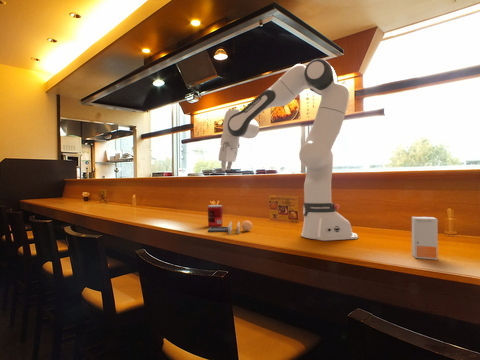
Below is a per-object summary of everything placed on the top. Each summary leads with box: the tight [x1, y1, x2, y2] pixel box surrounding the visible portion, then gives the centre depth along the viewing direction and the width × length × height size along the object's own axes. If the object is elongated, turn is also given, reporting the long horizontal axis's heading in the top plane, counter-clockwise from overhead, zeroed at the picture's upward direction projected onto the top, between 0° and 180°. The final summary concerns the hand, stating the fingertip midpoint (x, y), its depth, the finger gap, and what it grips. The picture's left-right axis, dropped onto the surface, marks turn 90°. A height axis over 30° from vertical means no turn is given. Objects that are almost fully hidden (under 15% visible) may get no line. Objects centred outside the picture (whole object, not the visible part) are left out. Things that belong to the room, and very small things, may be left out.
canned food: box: [207, 204, 223, 228], centre depth 158 cm, size 8×8×11 cm
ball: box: [241, 220, 253, 232], centre depth 139 cm, size 5×5×5 cm
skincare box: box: [411, 216, 439, 261], centre depth 87 cm, size 6×4×12 cm
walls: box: [228, 221, 241, 235], centre depth 139 cm, size 5×16×4 cm, turn 179°
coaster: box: [207, 226, 229, 233], centre depth 143 cm, size 9×9×1 cm
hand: (225, 170), depth 146 cm, fingers open, 8 cm apart
